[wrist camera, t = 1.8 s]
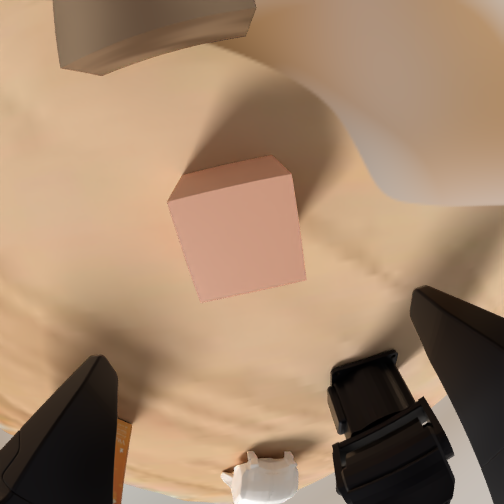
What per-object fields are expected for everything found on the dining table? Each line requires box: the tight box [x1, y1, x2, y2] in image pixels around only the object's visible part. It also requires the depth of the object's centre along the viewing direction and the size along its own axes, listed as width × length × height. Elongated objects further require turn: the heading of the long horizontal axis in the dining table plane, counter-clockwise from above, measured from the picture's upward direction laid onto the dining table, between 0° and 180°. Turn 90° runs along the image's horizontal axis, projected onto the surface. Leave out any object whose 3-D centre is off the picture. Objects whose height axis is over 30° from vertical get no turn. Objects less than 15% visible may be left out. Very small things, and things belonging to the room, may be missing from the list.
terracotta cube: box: [167, 155, 306, 303], centre depth 15 cm, size 5×5×5 cm
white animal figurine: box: [221, 451, 298, 504], centre depth 31 cm, size 8×8×15 cm
